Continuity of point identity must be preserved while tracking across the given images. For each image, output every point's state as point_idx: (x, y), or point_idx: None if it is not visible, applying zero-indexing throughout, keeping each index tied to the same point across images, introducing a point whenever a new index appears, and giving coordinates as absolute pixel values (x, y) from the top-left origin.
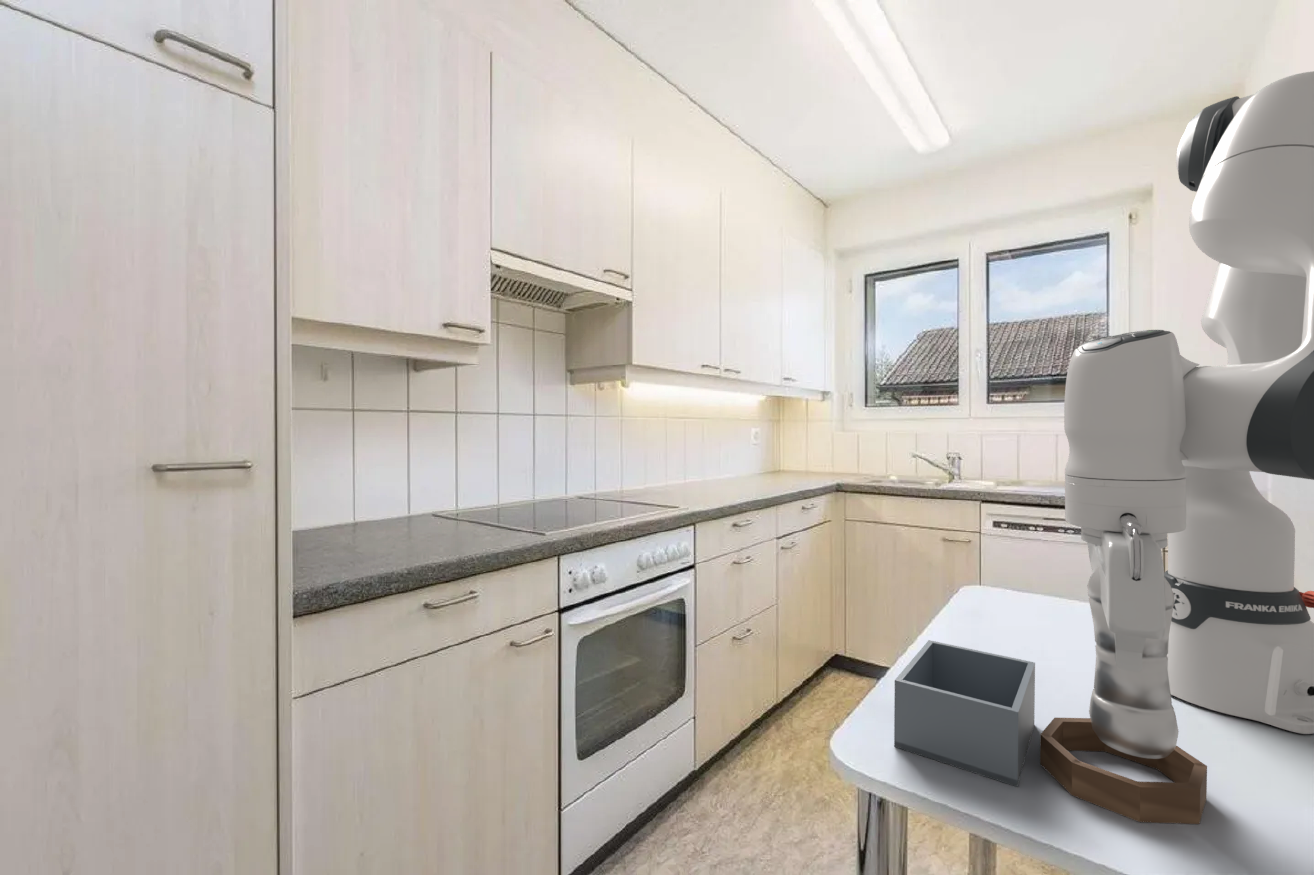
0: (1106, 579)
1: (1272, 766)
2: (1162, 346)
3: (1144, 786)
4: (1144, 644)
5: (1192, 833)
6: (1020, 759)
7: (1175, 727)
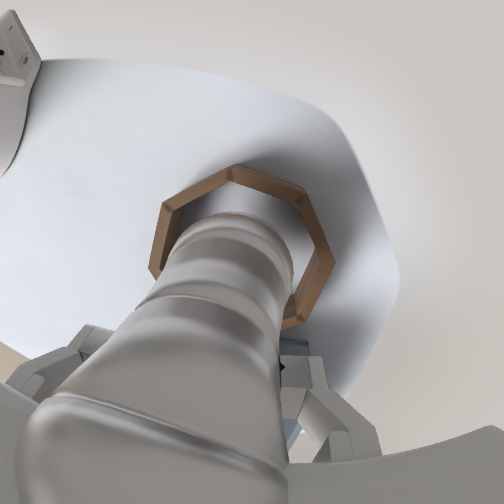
0: None
1: (113, 83)
2: None
3: (331, 258)
4: (353, 409)
5: (325, 200)
6: (285, 350)
7: (257, 227)
